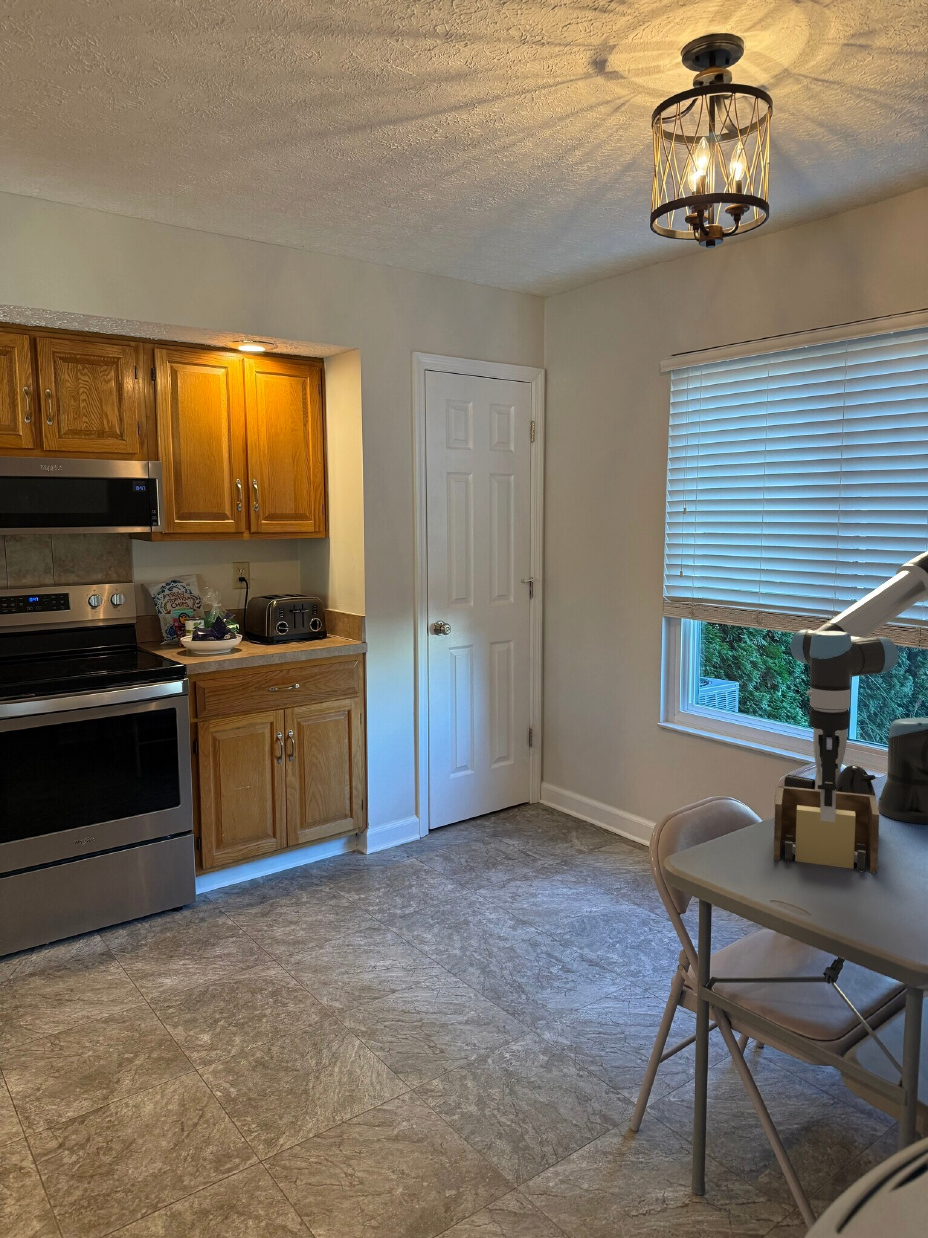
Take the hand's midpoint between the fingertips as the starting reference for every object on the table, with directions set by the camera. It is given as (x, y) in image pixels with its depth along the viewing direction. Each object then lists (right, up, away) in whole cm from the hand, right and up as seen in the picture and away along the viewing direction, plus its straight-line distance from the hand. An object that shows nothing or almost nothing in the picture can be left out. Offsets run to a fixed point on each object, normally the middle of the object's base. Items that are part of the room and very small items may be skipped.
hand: (827, 810), depth 176 cm
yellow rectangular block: (0, -11, +1) cm, 11 cm away
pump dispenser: (+14, -9, +19) cm, 25 cm away
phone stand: (+2, -9, +21) cm, 23 cm away
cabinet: (+1, -11, +5) cm, 12 cm away
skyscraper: (+13, -8, +30) cm, 33 cm away
